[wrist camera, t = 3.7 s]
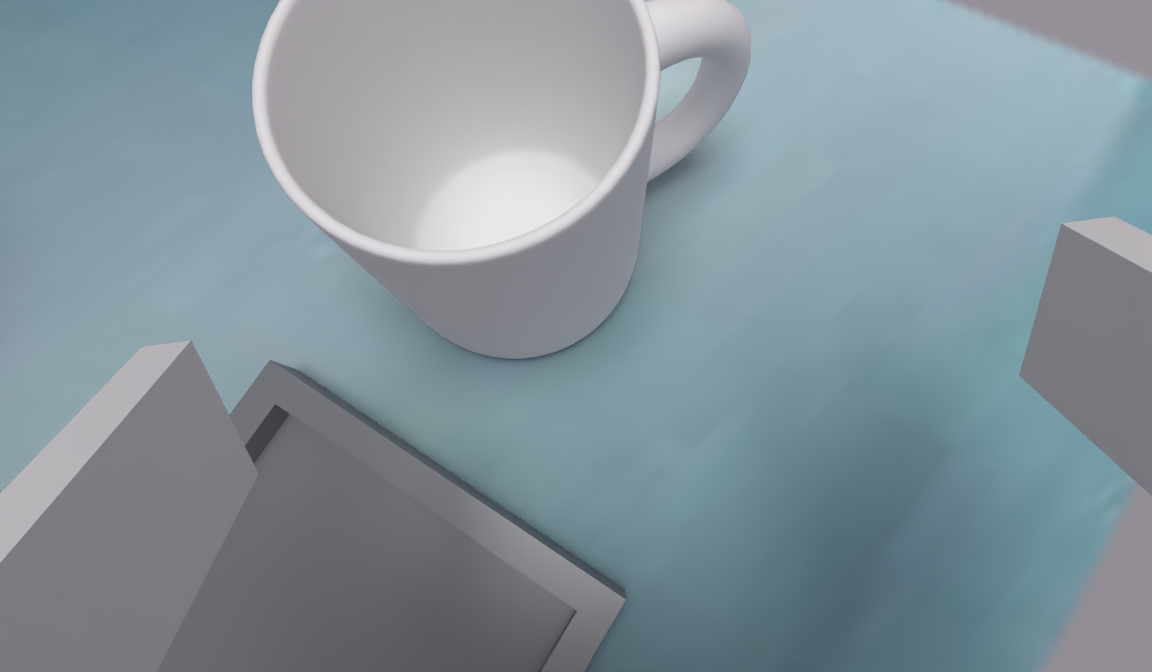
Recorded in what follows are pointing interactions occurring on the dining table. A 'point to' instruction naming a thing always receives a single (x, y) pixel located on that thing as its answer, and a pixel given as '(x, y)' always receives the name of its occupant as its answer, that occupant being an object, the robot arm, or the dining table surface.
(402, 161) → the mug
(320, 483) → the tray
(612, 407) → the dining table surface
